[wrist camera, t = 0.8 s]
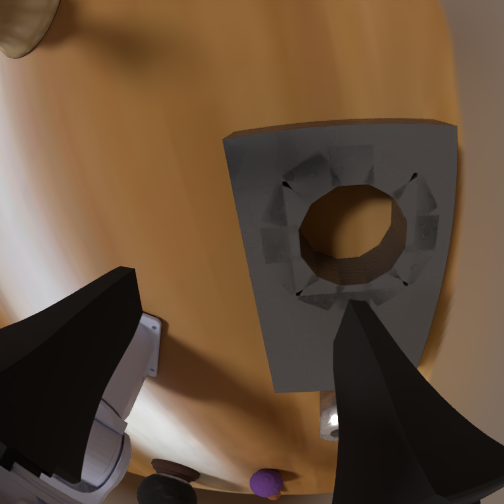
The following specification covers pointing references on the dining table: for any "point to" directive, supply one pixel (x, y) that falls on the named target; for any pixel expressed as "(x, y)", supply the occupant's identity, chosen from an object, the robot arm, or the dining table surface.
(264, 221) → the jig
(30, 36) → the hand bell
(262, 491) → the kendama
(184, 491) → the black ball on stand
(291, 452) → the dining table surface
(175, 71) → the dining table surface
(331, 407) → the bushing
